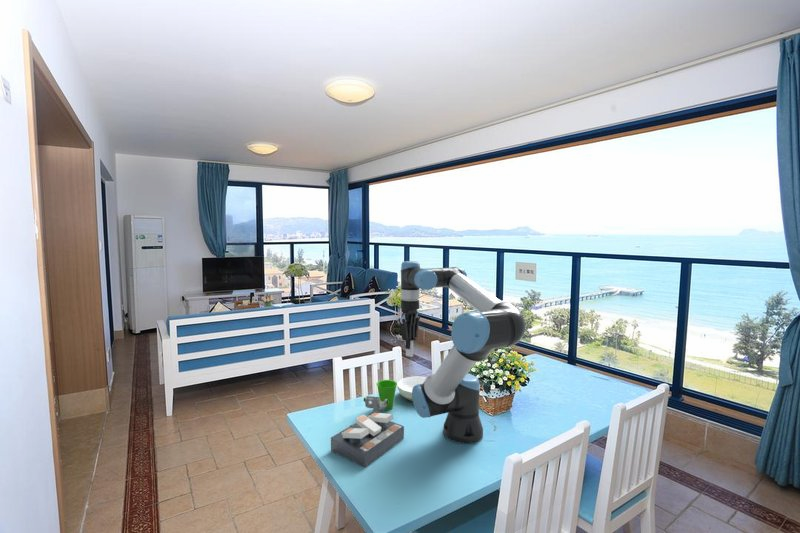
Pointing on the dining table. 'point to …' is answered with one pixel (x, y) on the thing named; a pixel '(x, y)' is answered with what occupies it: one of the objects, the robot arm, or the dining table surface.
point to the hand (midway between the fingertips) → (409, 355)
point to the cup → (387, 392)
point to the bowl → (409, 385)
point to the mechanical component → (375, 403)
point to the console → (367, 443)
